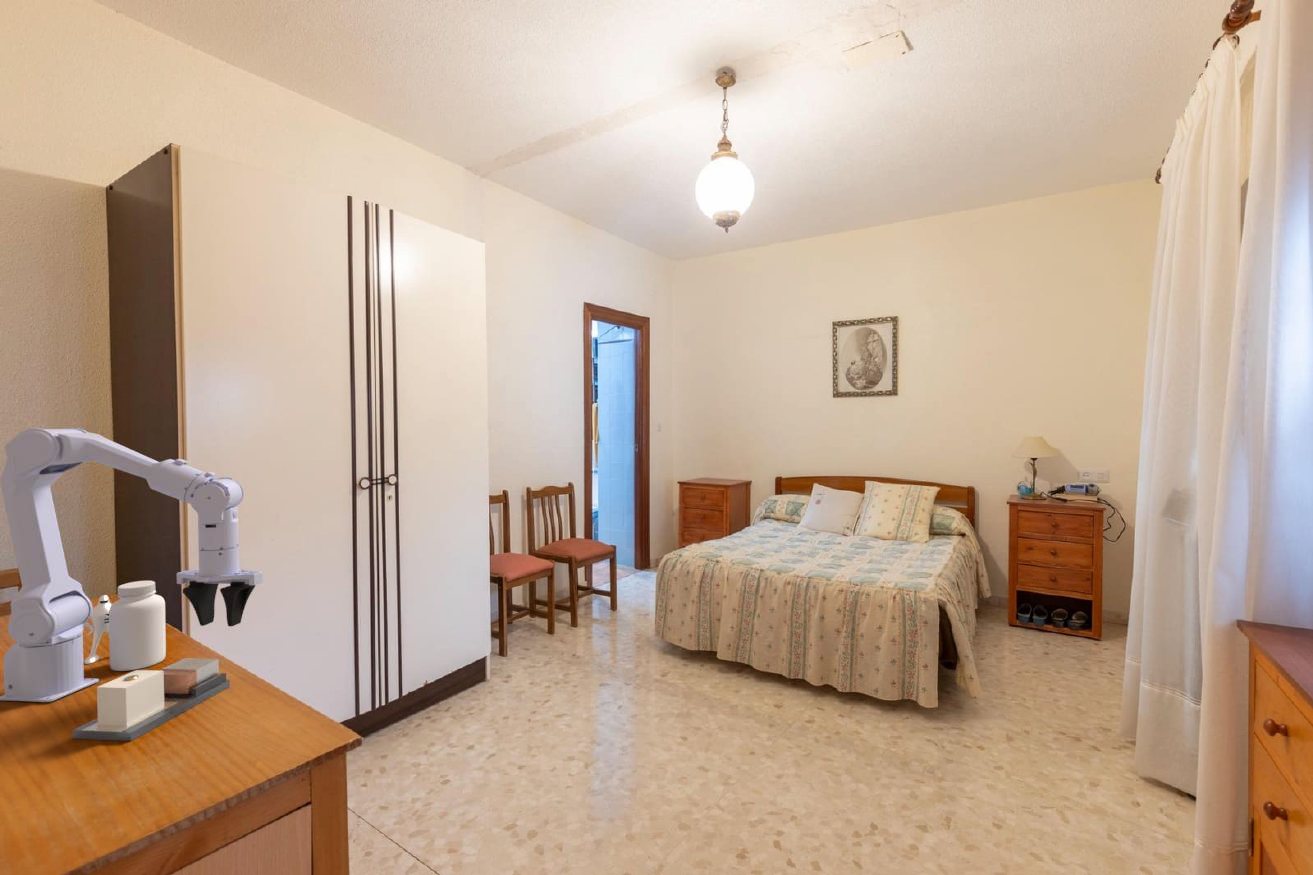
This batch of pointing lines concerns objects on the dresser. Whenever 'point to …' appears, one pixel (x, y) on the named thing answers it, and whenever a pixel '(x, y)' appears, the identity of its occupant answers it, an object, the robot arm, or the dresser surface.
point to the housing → (130, 697)
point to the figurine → (98, 625)
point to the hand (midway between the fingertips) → (220, 624)
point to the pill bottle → (137, 627)
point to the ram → (189, 674)
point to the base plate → (154, 713)
